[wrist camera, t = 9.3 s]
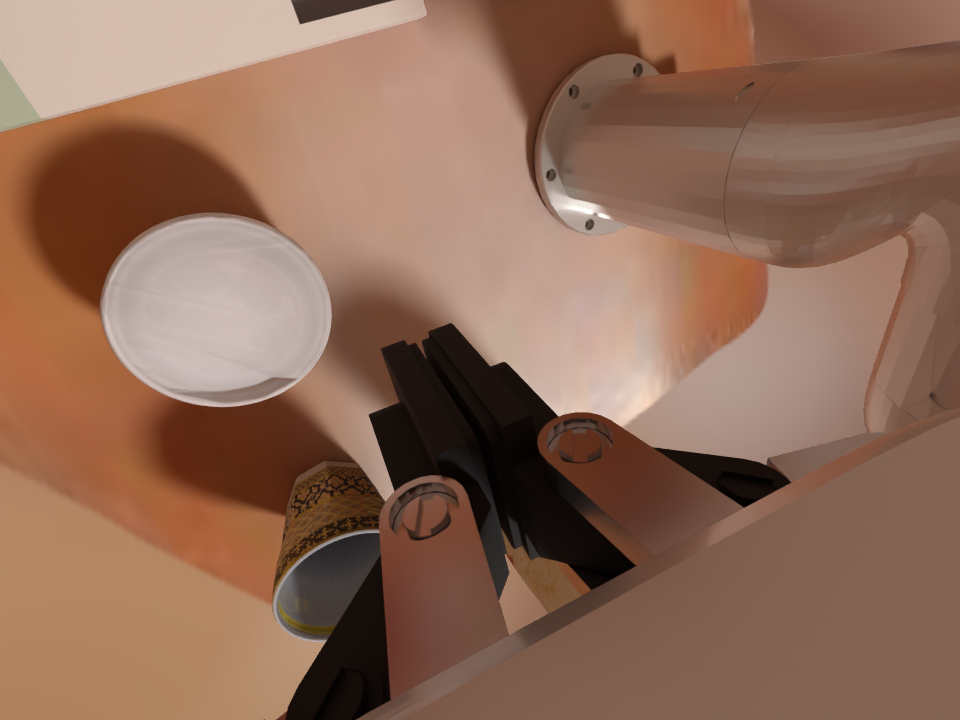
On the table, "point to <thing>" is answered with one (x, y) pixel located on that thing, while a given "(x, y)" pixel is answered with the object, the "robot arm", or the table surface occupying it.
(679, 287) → the table surface
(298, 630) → the ceramic cup
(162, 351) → the ramekin
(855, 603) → the robot arm
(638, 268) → the table surface
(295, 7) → the trap deck
